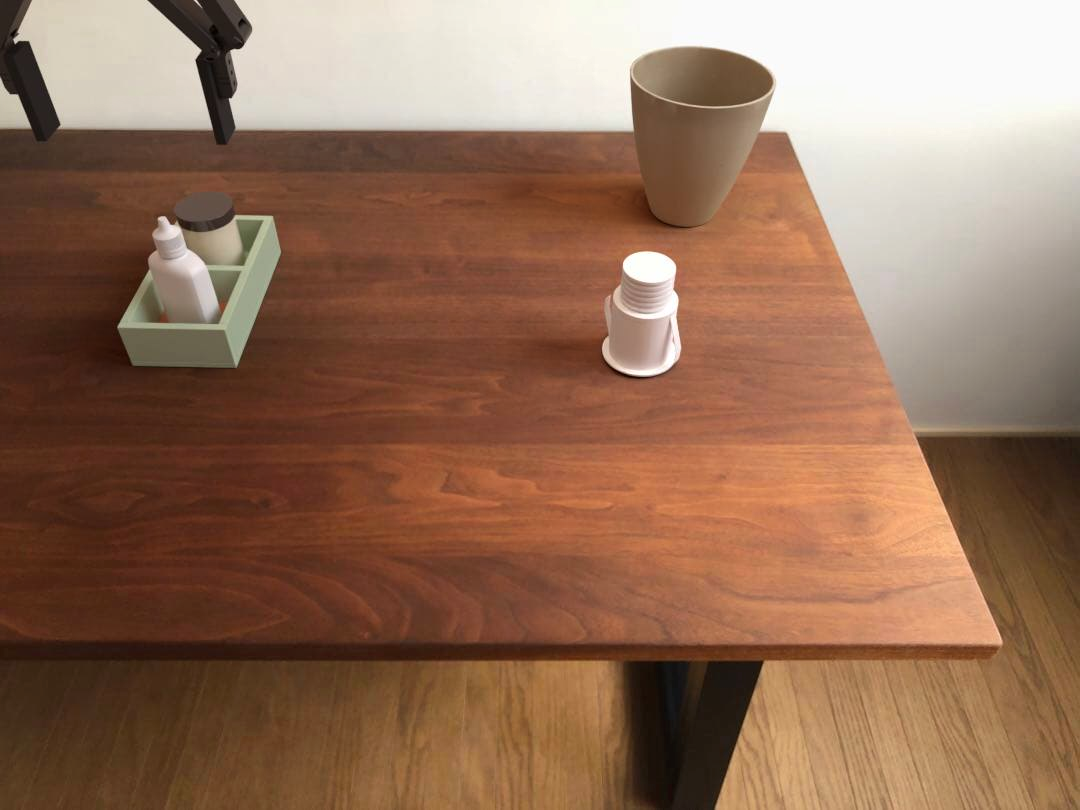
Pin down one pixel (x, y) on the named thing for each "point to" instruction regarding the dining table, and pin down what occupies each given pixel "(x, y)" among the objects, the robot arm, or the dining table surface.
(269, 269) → the green divided tray
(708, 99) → the plant pot
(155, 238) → the eye dropper bottle
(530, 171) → the dining table surface
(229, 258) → the spice jar
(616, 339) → the downlight
